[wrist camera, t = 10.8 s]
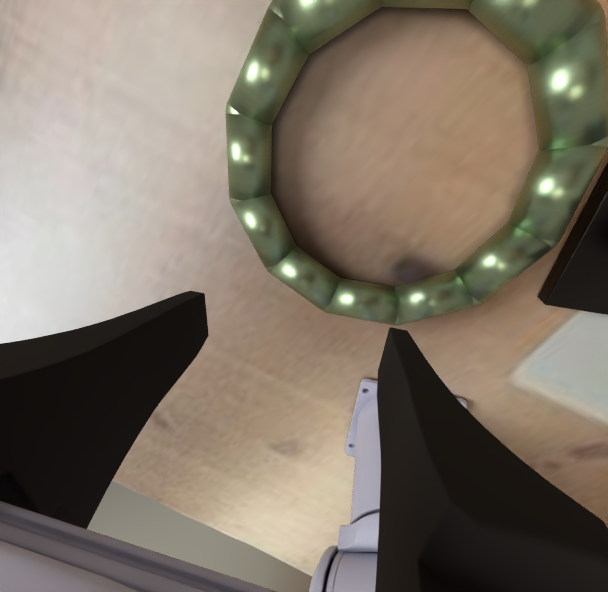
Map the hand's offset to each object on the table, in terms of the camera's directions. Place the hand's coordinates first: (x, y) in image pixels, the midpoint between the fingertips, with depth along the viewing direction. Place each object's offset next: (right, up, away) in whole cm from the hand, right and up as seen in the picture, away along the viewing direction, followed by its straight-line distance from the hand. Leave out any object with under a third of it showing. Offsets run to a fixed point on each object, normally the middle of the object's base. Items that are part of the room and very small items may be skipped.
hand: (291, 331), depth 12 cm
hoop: (+5, +8, +4) cm, 10 cm away
